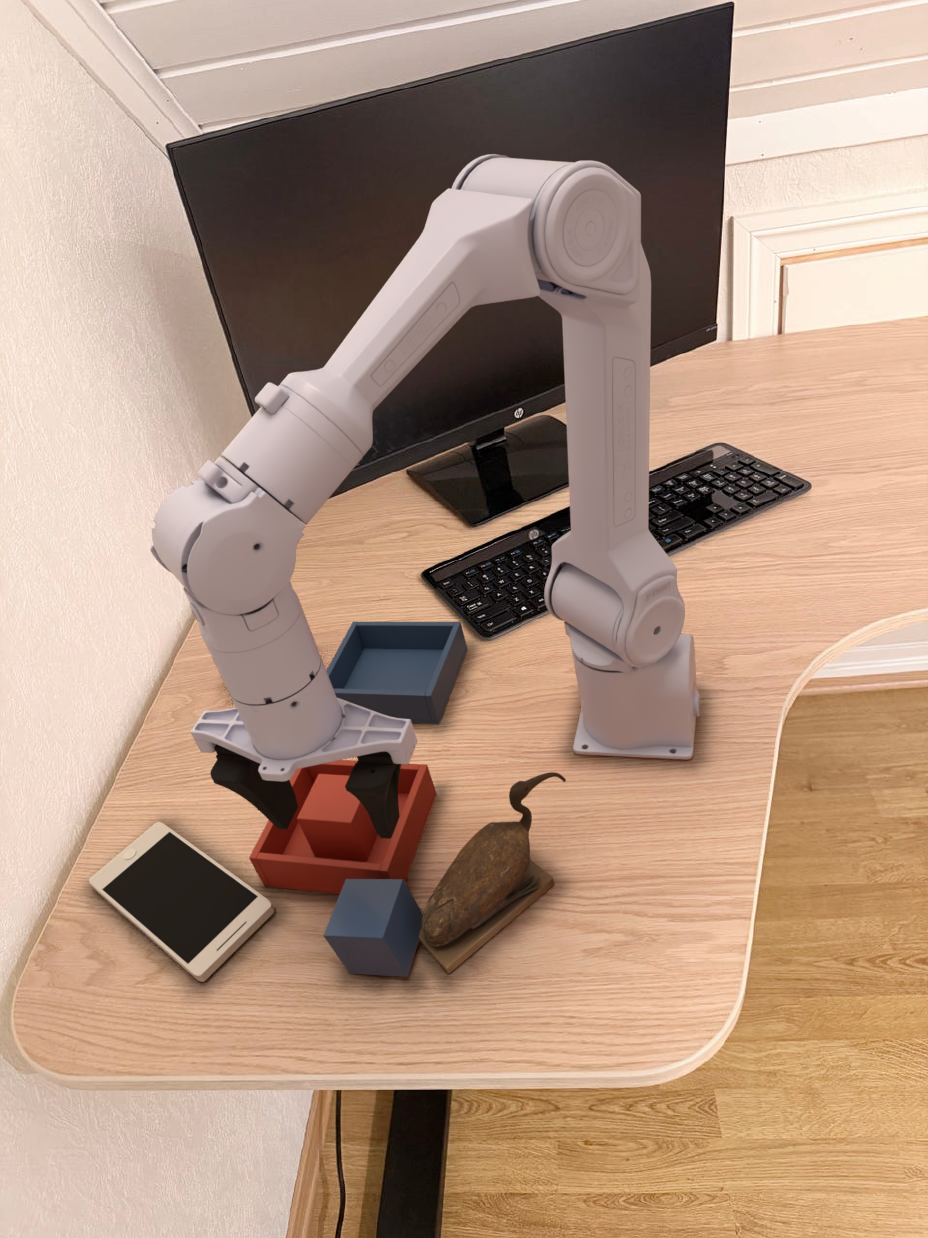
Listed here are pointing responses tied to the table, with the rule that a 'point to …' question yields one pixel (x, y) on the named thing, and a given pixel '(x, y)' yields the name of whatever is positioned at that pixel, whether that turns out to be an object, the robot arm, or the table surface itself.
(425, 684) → the blue bin
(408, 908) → the blue block
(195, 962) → the smartphone
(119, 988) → the table surface
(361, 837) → the red block
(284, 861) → the red bin
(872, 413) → the table surface
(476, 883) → the figurine
